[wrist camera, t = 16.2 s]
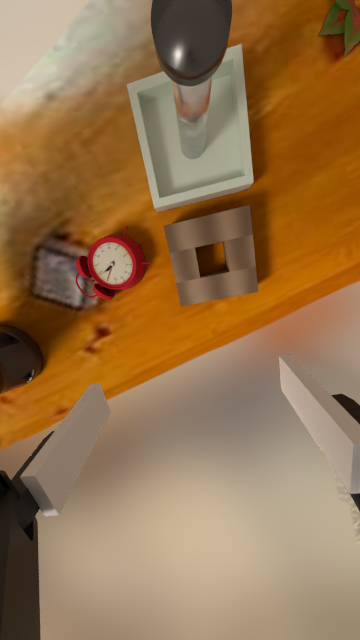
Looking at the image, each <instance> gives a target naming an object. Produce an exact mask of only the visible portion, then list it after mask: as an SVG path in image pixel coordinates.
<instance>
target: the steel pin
mask: <svg viewBox="0 0 360 640" xmlns="http://www.w3.org/2000/svg"><path fill="white" fill-rule="evenodd" d="M231 18H232V1H231V0H153V2H152V9H151V27H152V34H153V39H154V44H155V49H156V54H157V58H158V61H159V63H160V65H161V68H162V69H163V71H164V72H165V74H166V75H167V76H168V77H169V78H170V79H171V80H172V85H173V93H174V100H175V108H176V116H177V123H178V131H179V139H180V146H181V151H182V153H183V155H184V156H185V157H186V158H188V159H197V158H199V157H200V156H201V155H202V154H203V152H204V150H205V145H206V135H207V125H208V114H209V104H210V94H211V83H212V75H213V74H214V73H215V72H216V71H217V69H218V68H219V66H220V64H221V62H222V60H223V58H224V55H225V52H226V49H227V44H228V38H229V31H230V25H231Z"/></svg>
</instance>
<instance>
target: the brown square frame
mask: <svg viewBox="0 0 360 640" xmlns="http://www.w3.org/2000/svg"><path fill="white" fill-rule="evenodd" d="M164 229H165V234H166V238H167V243H168V247H169V252H170V257H171V261H172V266H173V271H174V275H175V280H176V284H177V289H178V294H179V298H180V303H181V306H185V305H191V304H196V303H201V302H207V301H212V300H217V299H222V298H228V297H233V296H238V295H244V294H249V293H254V292H258V283H257V273H256V262H255V252H254V242H253V231H252V221H251V210H250V205H247V206H243V207H239V208H235V209H231V210H227V211H223V212H219V213H214V214H210V215H206V216H202V217H198V218H194V219H190V220H186V221H182V222H178V223H174V224H170V225H166V226H164ZM220 242H223V248H224V255H225V262H226V270H225V271H220V272H215V273H210V274H206V275H201V276H200V273H199V268H198V262H197V257H196V251H195V248H198V247H202V246H207V245H211V244H216V243H220Z"/></svg>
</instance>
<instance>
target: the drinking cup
mask: <svg viewBox="0 0 360 640" xmlns="http://www.w3.org/2000/svg"><path fill="white" fill-rule="evenodd" d="M350 495H351V496H352V498H353V500H354V502H355V504H356V506H357V507H358V509H359V511H360V493H357V494H350Z"/></svg>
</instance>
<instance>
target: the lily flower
mask: <svg viewBox="0 0 360 640" xmlns="http://www.w3.org/2000/svg"><path fill="white" fill-rule="evenodd" d="M335 1H336V3H335V4H334V5H333V6H332V8H331V10H330V11H329V13H328V15H327V17H326V20H325V22H324V24H323V28H322V31H320V33H319V35H318V36H321V35H327V34H329V35H333V34H340V33H344V32H345V49H346V50H345V56H346V55H347V53H348V52H349V51H350V50H351V49H352V48H353V47H354V45H355V44H357V43H358V42H359V41H360V14H359V12H358V10H357V7H356V5H355V0H335ZM343 9H345V10H349V11H348V13H347V16H346V19H345V20H342V21H340V20H339V21H337V20H338V19H339V16H340V15H341V13H342V11H343ZM345 56H344V57H345Z"/></svg>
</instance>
